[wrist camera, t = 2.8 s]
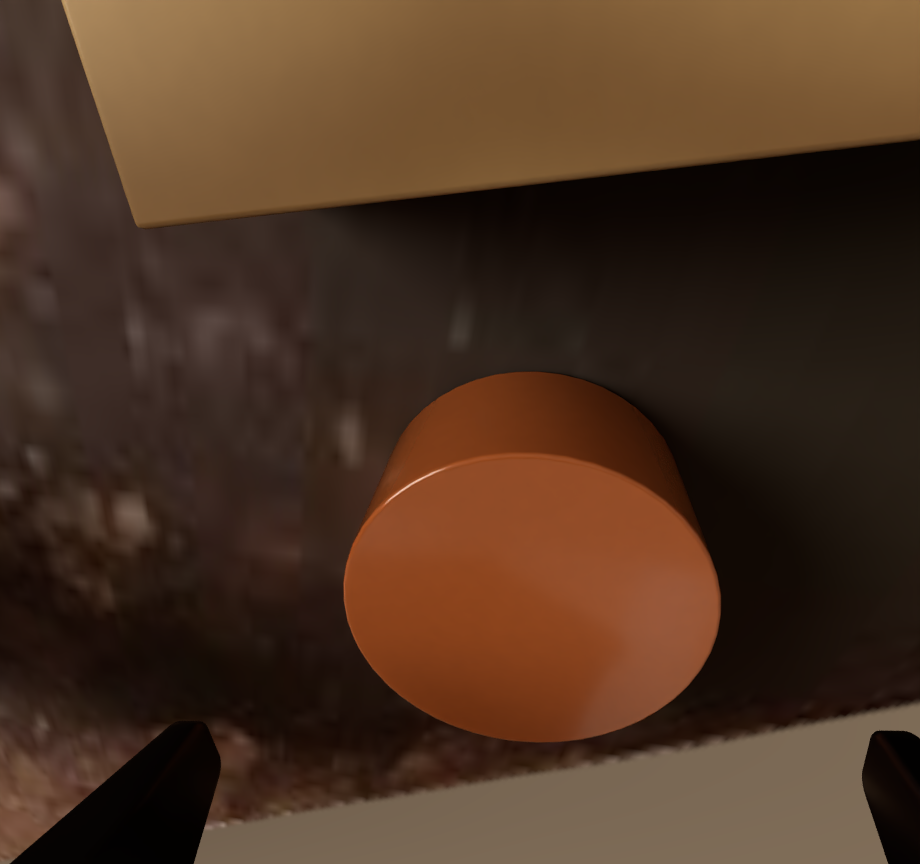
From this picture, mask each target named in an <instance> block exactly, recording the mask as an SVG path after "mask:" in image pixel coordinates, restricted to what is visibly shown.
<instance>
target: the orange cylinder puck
mask: <svg viewBox="0 0 920 864" xmlns="http://www.w3.org/2000/svg"><path fill="white" fill-rule="evenodd" d="M343 588H344V604H345V610H346V615H347V620H348V623H349V626H350V629H351V632H352V635H353V637H354V639H355V641H356V643H357V645H358V647H359V649H360V651H361V653H362V654H363V656H364V657H365V659H366V660H367V662H368V663H369V664H370V666H371V667H372V669H373V670H374V671H375V672H376V673H377V674H378V675H379V676H380V678H381V679H382V680H383V681H384V682H385V683H386V684H387V685H388V686H389V687H391V688H392V689H393V690H394V691H395V692H396V693H397V694H398V695H400V696H401V697H402V698H404V699H405V700H407V701H408V702H409V703H411V704H412V705H414V706H415V707H416V708H418V709H420V710H422V711H423V712H425V713H427V714H429V715H431V716H432V717H434V718H436V719H438V720H441V721H443V722H445V723H447V724H450V725H452V726H454V727H457V728H460V729H463V730H466V731H469V732H472V733H475V734H479V735H484V736H488V737H492V738H497V739H503V740H510V741H518V742H533V743H549V742H566V741H574V740H582V739H587V738H592V737H596V736H601V735H604V734H608V733H611V732H614V731H617V730H620V729H623V728H625V727H628V726H630V725H632V724H635V723H637V722H639V721H641V720H643V719H645V718H647V717H649V716H650V715H652V714H654V713H656V712H657V711H659V710H660V709H662V708H663V707H664V706H666V705H667V704H668V703H670V702H671V701H673V700H674V699H675V698H676V697H677V696H678V695H679V694H680V693H681V692H682V691H683V690H685V689H686V688H687V687H688V686H689V685H690V683H691V682H692V681H693V680H694V678H695V677H696V676H697V674H698V673H699V672H700V671H701V669H702V667H703V666H704V664H705V662H706V660H707V658H708V657H709V655H710V653H711V651H712V648H713V645H714V642H715V639H716V637H717V634H718V629H719V623H720V617H721V590H720V585H719V579H718V574H717V571H716V568H715V566H714V563H713V560H712V558H711V555H710V552H709V550H708V547H707V544H706V542H705V539H704V537H703V534H702V531H701V529H700V526H699V523H698V521H697V518H696V515H695V513H694V510H693V508H692V505H691V502H690V500H689V497H688V494H687V492H686V489H685V487H684V484H683V481H682V479H681V476H680V473H679V471H678V468H677V465H676V463H675V460H674V458H673V455H672V453H671V451H670V449H669V447H668V446H667V444H666V442H665V440H664V439H663V437H662V436H661V434H660V433H659V432H658V431H657V429H656V428H655V427H654V425H653V424H652V423H651V422H650V421H649V420H648V419H647V418H646V417H645V416H644V415H643V414H642V413H641V412H640V411H639V410H638V409H637V408H635V407H634V406H632V405H631V404H630V403H628V402H627V401H625V400H624V399H623V398H621V397H620V396H618V395H616V394H614V393H612V392H610V391H608V390H607V389H605V388H603V387H601V386H598V385H595V384H593V383H590V382H587V381H585V380H582V379H578V378H574V377H570V376H566V375H562V374H554V373H545V372H513V373H505V374H498V375H493V376H489V377H485V378H481V379H478V380H474V381H472V382H469V383H467V384H464V385H462V386H459V387H457V388H455V389H453V390H451V391H450V392H448V393H446V394H444V395H443V396H441V397H439V398H438V399H436V400H435V401H434V402H432V403H431V404H430V405H428V406H427V407H426V408H424V409H423V410H422V411H421V412H420V413H419V414H418V415H417V416H416V417H415V418H414V419H413V420H412V421H411V423H410V424H409V425H408V427H407V428H406V429H405V431H404V432H403V433H402V435H401V436H400V438H399V440H398V442H397V444H396V446H395V447H394V449H393V451H392V454H391V456H390V458H389V460H388V463H387V465H386V467H385V470H384V472H383V474H382V477H381V479H380V481H379V484H378V486H377V488H376V491H375V493H374V495H373V498H372V500H371V502H370V504H369V507H368V509H367V511H366V514H365V516H364V518H363V521H362V523H361V525H360V528H359V530H358V532H357V535H356V537H355V539H354V541H353V544H352V547H351V550H350V553H349V556H348V559H347V561H346V567H345V574H344V580H343Z"/></svg>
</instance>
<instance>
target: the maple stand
mask: <svg viewBox="0 0 920 864" xmlns="http://www.w3.org/2000/svg"><path fill="white" fill-rule="evenodd" d="M61 1H62V4H63V7H64V10H65V13H66V16H67V19H68V22H69V25H70V28H71V31H72V34H73V37H74V40H75V43H76V46H77V49H78V52H79V55H80V58H81V61H82V64H83V67H84V70H85V73H86V76H87V79H88V82H89V85H90V88H91V91H92V94H93V97H94V100H95V103H96V106H97V109H98V112H99V115H100V118H101V121H102V124H103V127H104V130H105V133H106V136H107V139H108V142H109V145H110V148H111V151H112V154H113V157H114V160H115V163H116V166H117V169H118V172H119V175H120V178H121V181H122V184H123V187H124V190H125V193H126V196H127V200H128V203H129V206H130V209H131V212H132V215H133V218H134V221H135V223H136V225H137V226H138V227H140V228H143V229H152V228H161V227H169V226H178V225H187V224H195V223H204V222H213V221H221V220H230V219H239V218H248V217H256V216H265V215H274V214H282V213H291V212H300V211H308V210H317V209H326V208H335V207H343V206H352V205H361V204H369V203H378V202H387V201H395V200H404V199H413V198H422V197H430V196H439V195H448V194H456V193H465V192H474V191H482V190H491V189H500V188H508V187H517V186H526V185H535V184H543V183H552V182H561V181H569V180H578V179H587V178H595V177H604V176H613V175H622V174H630V173H639V172H648V171H656V170H665V169H674V168H682V167H691V166H700V165H708V164H717V163H726V162H735V161H743V160H752V159H761V158H769V157H778V156H787V155H795V154H804V153H813V152H822V151H830V150H839V149H848V148H856V147H865V146H874V145H882V144H891V143H900V142H908V141H917V140H920V0H61Z"/></svg>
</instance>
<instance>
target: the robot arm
mask: <svg viewBox="0 0 920 864" xmlns="http://www.w3.org/2000/svg"><path fill="white" fill-rule="evenodd" d="M220 770H221V760H220V755H219V753H218V750H217V748H216V746H215V743H214V741H213V739H212V736H211V734H210V732H209V729H208V727H207V725H206V724H205V723H203V722H202V721H177V722H175V723H173V724H172V725H170V726H169V727H168V728H166V729H165V730H164V731H163V732H162V733H161V734H160V735H158V736H157V737H156V738H155V739H154V740H153V741H151V742H150V743H149V744H148V745H147V746H146V747H144V748H143V749H142V750H141V751H140V752H139V753H138V754H136V755H135V756H134V757H133V758H132V759H131V760H129V761H128V762H127V763H126V764H125V765H124V766H122V767H121V768H120V769H119V770H118V771H117V772H115V773H114V774H113V775H112V776H111V777H110V778H109V779H107V780H106V781H105V782H104V783H103V784H102V785H100V786H99V787H98V788H97V789H96V790H95V791H93V792H92V793H91V794H90V795H89V796H88V797H87V798H85V799H84V800H83V801H82V802H81V803H80V804H78V805H77V806H76V807H75V808H74V809H73V810H71V811H70V812H69V813H68V814H67V815H66V816H65V817H63V818H62V819H61V820H60V821H59V822H58V823H56V824H55V825H54V826H53V827H52V828H51V829H49V830H48V831H47V832H46V833H45V834H44V835H42V836H41V837H40V838H39V839H38V840H37V841H36V842H34V843H33V844H32V845H31V846H30V847H29V848H27V849H26V850H25V851H24V852H23V853H22V854H20V855H19V856H18V857H17V858H16V859H15V860H14V861H12V862H11V863H10V864H194V861H195V857H196V854H197V850H198V847H199V843H200V840H201V837H202V833H203V830H204V827H205V823H206V820H207V816H208V813H209V810H210V806H211V803H212V799H213V796H214V793H215V789H216V786H217V782H218V779H219V775H220ZM862 781H863V788H864V792H865V795H866V798H867V801H868V804H869V807H870V810H871V813H872V816H873V819H874V822H875V825H876V828H877V831H878V834H879V837H880V840H881V843H882V846H883V849H884V852H885V855H886V858H887V861H888V864H920V738H919V737H917V736H916V735H914V734H912V733H910V732H907V731H876V732H874V733H873V734H872V736H871V738H870V742H869V747H868V751H867V755H866V759H865V763H864V767H863V771H862Z"/></svg>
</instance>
